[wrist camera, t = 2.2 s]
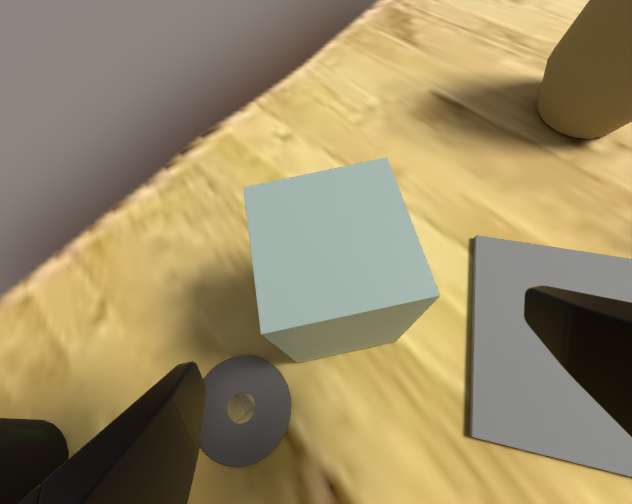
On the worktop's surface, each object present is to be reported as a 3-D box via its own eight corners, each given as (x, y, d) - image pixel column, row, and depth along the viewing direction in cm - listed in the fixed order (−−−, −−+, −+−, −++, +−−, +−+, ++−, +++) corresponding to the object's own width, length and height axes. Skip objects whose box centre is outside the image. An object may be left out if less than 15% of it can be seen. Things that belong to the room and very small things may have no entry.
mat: (738, 503, 15) (748, 505, 14) (469, 436, 17) (472, 437, 16) (677, 269, 19) (683, 266, 19) (474, 238, 21) (476, 235, 21)
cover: (395, 342, 19) (440, 295, 10) (297, 363, 19) (260, 334, 10) (368, 253, 21) (387, 157, 13) (282, 271, 21) (243, 187, 13)
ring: (247, 491, 16) (245, 492, 16) (174, 419, 18) (172, 420, 18) (310, 395, 18) (309, 395, 18) (238, 337, 20) (237, 337, 19)
